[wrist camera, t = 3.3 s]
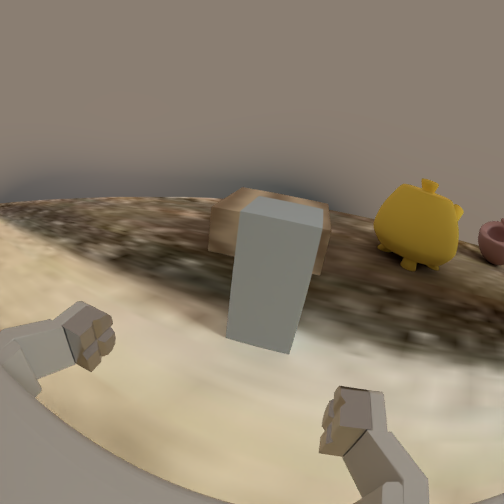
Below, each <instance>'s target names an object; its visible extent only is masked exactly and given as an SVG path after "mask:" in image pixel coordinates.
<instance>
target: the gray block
mask: <svg viewBox="0 0 504 504" xmlns="http://www.w3.org/2000/svg"><path fill="white" fill-rule="evenodd" d="M322 229H323V209H321V208H316V207H312V206H307V205H302V204H297V203H293V202H288V201H283V200H278V199H273V198H268V197H262V196H258V197H257V198H256V199H254V200H253V201H252V202H251V203H250V204H248V205H247V206H246V207H245V208H243V209H242V210H241V211H240V217H239V225H238V233H237V242H236V250H235V259H234V267H233V276H232V285H231V294H230V303H229V312H228V321H227V330H226V338H228V339H232V340H235V341H239V342H242V343H246V344H250V345H253V346H257V347H261V348H265V349H269V350H273V351H277V352H281V353H285V354H289V353H290V350H291V347H292V343H293V340H294V337H295V333H296V330H297V326H298V323H299V319H300V316H301V312H302V309H303V305H304V301H305V298H306V294H307V290H308V287H309V283H310V279H311V275H312V271H313V267H314V263H315V259H316V255H317V251H318V246H319V242H320V238H321V234H322Z"/></svg>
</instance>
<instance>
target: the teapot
mask: <svg viewBox="0 0 504 504" xmlns="http://www.w3.org/2000/svg"><path fill="white" fill-rule="evenodd" d="M438 186H439V185H438V184H437V183H436V182H433V181H431V180H428V179H422V188H418V187H415V186H412V185H408V184H402V185H401V186H400V187H398V188H397V189H396V190H395V191H394V192H393V193H392V194H391V195H390V196H389V197H388V198H387V200H386V201H385V202H384V203H383V205H382V206H381V208H380V209H379V211H378V213H377V215H376V217H375V221H374V230H375V233H376V235H377V237H378V240H379V241H380V243H381V244H380V245H378V246H377V248H378V249H380V250H382V251H384V252H394V253H396V254H398V255H400V256H402V257H403V260H402V262H401V264H400V265H401V266H402V267H403V268H404V269H406V270H409V271H415V270H416V265H417V263H421V264H425V265H426V266H428V267H429V268H431V269H433V270H437V271H438V270H439V266H440V265H443V264H444V263H446V262H448V261H450V260H451V259H452V258H453V257H454V256H455V254H456V251H457V246H458V238H459V232H458V231H459V229H458V220H459V219H460V217H461V216H462V215H463V209H462V208H461V207H460V206H459V205H457V204H455V205H453V202H452V201H451V200H449V199H447V198H445V197H443V196H441V195H438V194H436V193H435V191H436V189H437V188H438Z"/></svg>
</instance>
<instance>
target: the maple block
mask: <svg viewBox="0 0 504 504" xmlns="http://www.w3.org/2000/svg"><path fill="white" fill-rule="evenodd" d="M258 196H262V197H268V198H273V199H278V200H283V201H288V202H293V203H297V204H302V205H307V206H312V207H316V208H321V209H323V229H322V234H321V238H320V242H319V246H318V251H317V255H316V259H315V263H314V267H313V271H312V274H315V275H320V274H321V270H322V266H323V263H324V259H325V255H326V251H327V247H328V243H329V239H330V235H331V223H330V215H329V207H328V204H326V203H321V202H316V201H312V200H307V199H302V198H297V197H292V196H287V195H282V194H277V193H272V192H266V191H261V190H255V189H249V188H241V189H239V190H237V191H236V192H235V193H233V194H231V195H229V196H228V197H226V198H224V199H223V200H221V201H220V202H218V203H217V204H215V205H213V206H212V207H211V219H210V230H209V243H208V251H212V252H216V253H221V254H225V255H230V256H234V257H235V250H236V242H237V233H238V225H239V217H240V211H241V210H242V209H243V208H245V207H246V206H247V205H248V204H250V203H251V202H252V201H253V200H254V199H256V198H257V197H258Z"/></svg>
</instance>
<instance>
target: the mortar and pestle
mask: <svg viewBox="0 0 504 504" xmlns="http://www.w3.org/2000/svg"><path fill="white" fill-rule="evenodd" d="M478 243H479V248H480V251H481V253H482V255H483V257H484V258H485V259H486V260H487V261H488V262H490V263H492V264H494V265H504V219H503V218H502V219H501V222H499V221H497V222H496V221H492V222H488V223H485V224H484V225H482V226H481V228H480V231H479V236H478Z"/></svg>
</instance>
